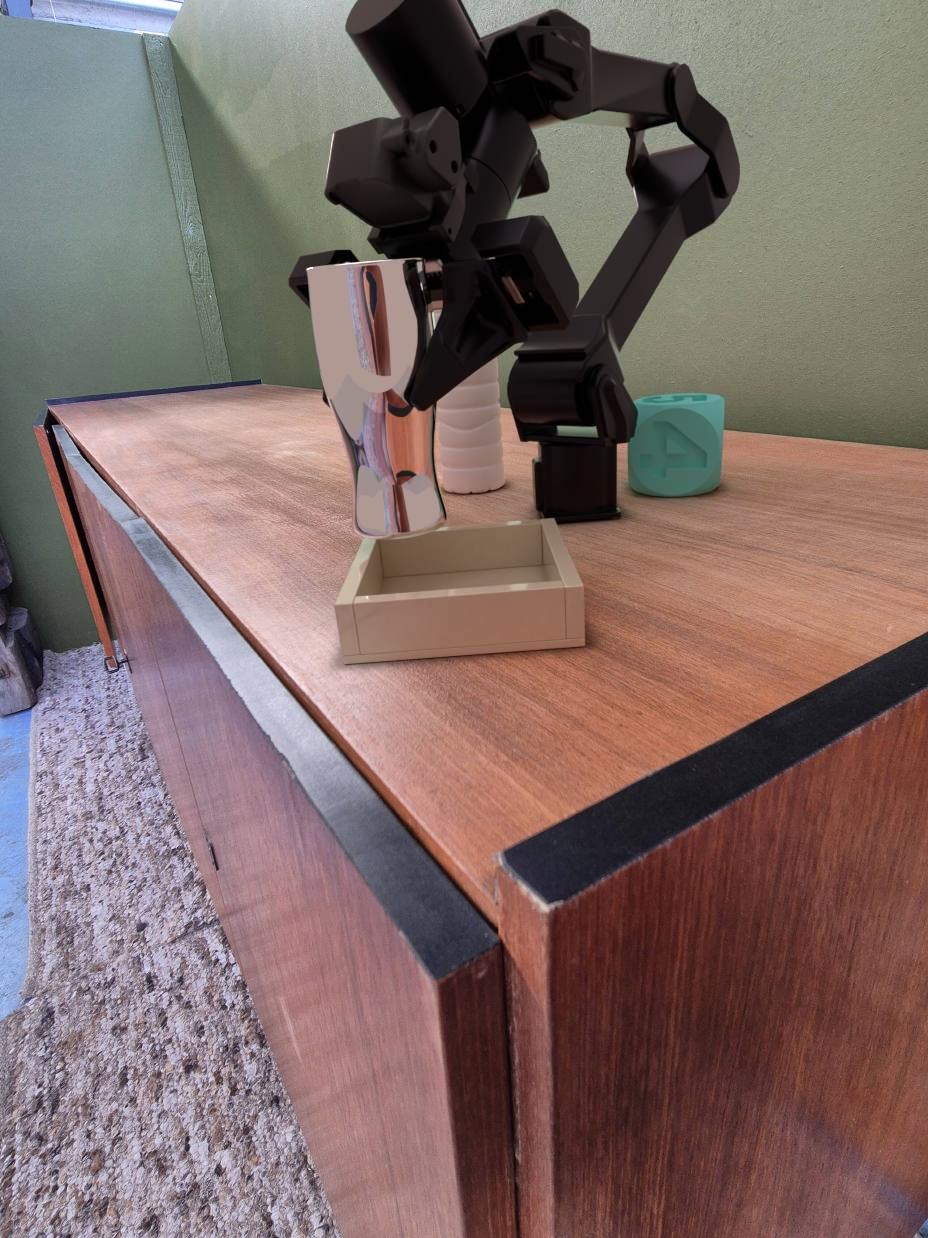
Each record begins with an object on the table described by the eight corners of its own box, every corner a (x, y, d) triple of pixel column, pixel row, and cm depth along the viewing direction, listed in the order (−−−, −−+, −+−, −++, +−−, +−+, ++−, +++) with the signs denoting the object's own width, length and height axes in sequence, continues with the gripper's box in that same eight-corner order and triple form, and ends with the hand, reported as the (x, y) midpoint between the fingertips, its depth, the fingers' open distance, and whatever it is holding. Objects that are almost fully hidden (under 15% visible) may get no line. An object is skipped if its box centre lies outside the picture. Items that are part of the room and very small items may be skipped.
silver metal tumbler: (476, 513, 46) (454, 254, 40) (409, 549, 41) (372, 259, 35) (393, 503, 50) (360, 264, 43) (323, 535, 45) (274, 271, 38)
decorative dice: (719, 497, 63) (725, 403, 60) (626, 497, 65) (627, 407, 62) (718, 476, 70) (723, 391, 66) (634, 477, 72) (635, 395, 69)
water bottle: (507, 477, 77) (491, 213, 67) (503, 492, 71) (485, 204, 61) (427, 482, 78) (400, 223, 68) (417, 497, 72) (386, 215, 62)
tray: (556, 566, 50) (554, 517, 48) (585, 646, 38) (584, 585, 37) (371, 580, 50) (365, 532, 49) (343, 664, 38) (333, 604, 37)
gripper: (282, 109, 44) (168, 318, 40) (543, 13, 33) (415, 288, 30) (387, 251, 52) (300, 432, 49) (620, 213, 42) (528, 442, 38)
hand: (370, 406), depth 41 cm, fingers closed on silver metal tumbler, 7 cm apart
